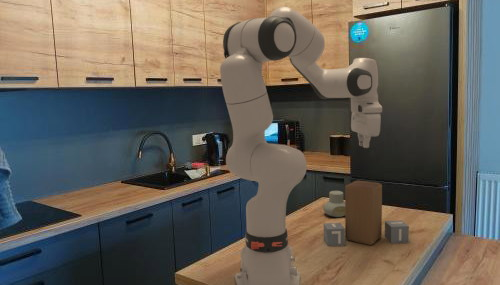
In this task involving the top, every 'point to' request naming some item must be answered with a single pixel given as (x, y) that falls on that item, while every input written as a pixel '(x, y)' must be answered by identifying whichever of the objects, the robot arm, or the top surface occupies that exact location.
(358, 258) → the top surface
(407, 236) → the cube one
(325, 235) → the cube seven
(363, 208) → the wooden block
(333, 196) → the air freshener
